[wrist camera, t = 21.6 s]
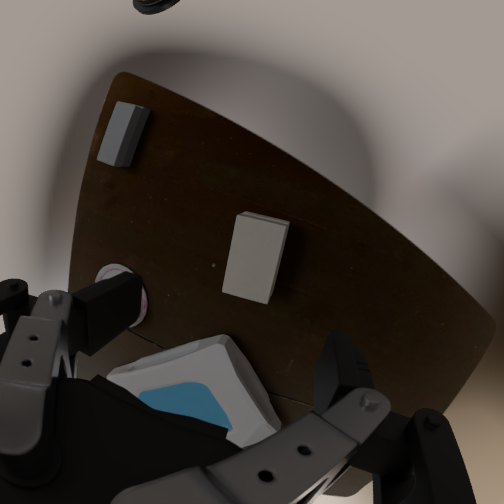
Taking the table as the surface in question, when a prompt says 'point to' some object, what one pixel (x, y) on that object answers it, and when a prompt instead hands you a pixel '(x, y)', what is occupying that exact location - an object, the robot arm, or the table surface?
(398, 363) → the table surface
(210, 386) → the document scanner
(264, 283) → the light grey rectangular block
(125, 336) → the table surface
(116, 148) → the gray block
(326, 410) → the robot arm
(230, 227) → the table surface
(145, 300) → the teacup
